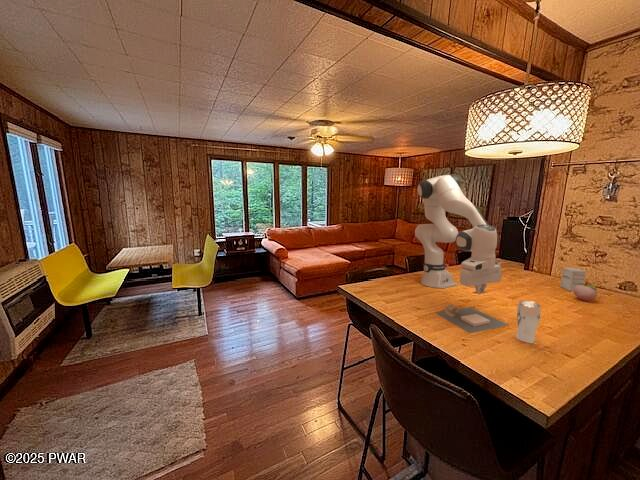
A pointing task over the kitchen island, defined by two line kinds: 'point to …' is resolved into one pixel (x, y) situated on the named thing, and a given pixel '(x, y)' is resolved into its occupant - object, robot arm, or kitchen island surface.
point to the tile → (475, 320)
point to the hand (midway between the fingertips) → (479, 293)
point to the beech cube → (451, 310)
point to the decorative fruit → (585, 291)
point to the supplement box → (572, 278)
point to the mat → (470, 329)
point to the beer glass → (527, 321)
